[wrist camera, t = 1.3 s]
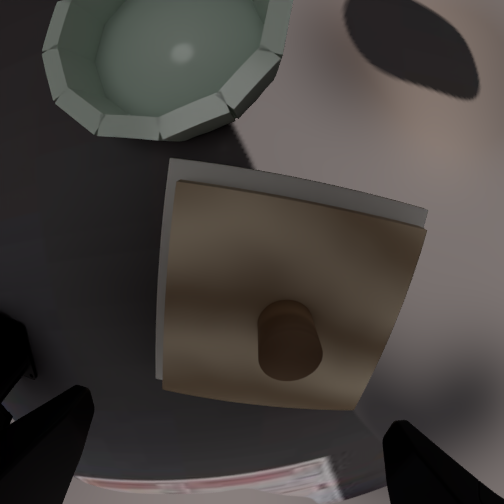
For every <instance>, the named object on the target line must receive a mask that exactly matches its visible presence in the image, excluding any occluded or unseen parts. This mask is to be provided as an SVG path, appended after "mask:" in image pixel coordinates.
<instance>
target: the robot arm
mask: <svg viewBox="0 0 504 504" xmlns="http://www.w3.org/2000/svg"><path fill="white" fill-rule="evenodd" d="M23 375H24V376H26V377H28V378H30V379H33V380H35V379H36V377H37V373H36V370H35V366H34V363H33V359H32V356H31V352H30V348H29V344H28V340H27V336H26V332H25V328H24V326H23V325H22V324H21V323H19V322H16V321H13V320H11V319H8V318H6V317H3V316H1V315H0V504H62V503H63V500H64V498H65V495H66V493H67V490H68V488H69V485H70V482H71V480H72V477H73V475H74V472H75V470H76V467H77V465H78V463H79V460H80V458H81V455H82V452H83V449H84V445H85V442H86V438H87V435H88V431H89V428H90V424H91V421H92V418H93V414H94V404H93V400H92V396H91V392H90V390H89V389H88V388H86V387H83V386H80V385H75V386H73V387H71V388H70V389H68V390H66V391H65V392H63V393H61V394H60V395H58V396H56V397H55V398H53V399H52V400H50V401H48V402H47V403H45V404H43V405H42V406H40V407H38V408H37V409H35V410H33V411H32V412H30V413H28V414H27V415H25V416H23V417H21V418H20V419H18V420H16V421H15V422H13V423H11V424H10V422H11V420H12V417H13V416H12V415H11V414H10V412H8V411H7V410H6V409H5V408H4V406H3V405H2V404H1V403H2V401H3V400H4V399H5V397H6V396H7V395H8V393H9V392H10V391H11V390H12V388H13V387H14V386H15V384H16V383H17V382H18V381H19V379H20V378H21V377H22V376H23ZM383 452H384V462H385V473H386V482H387V487H388V492H389V497H390V502H391V504H504V499H503V498H502V497H500V496H499V495H497V494H496V493H494V492H493V491H492V490H490V489H489V488H488V487H487V486H485V485H484V484H483V483H481V482H480V481H478V479H476V478H475V477H474V476H473V475H472V474H470V473H469V472H468V471H467V470H465V469H464V468H463V467H462V466H461V465H459V464H458V463H457V462H456V461H455V460H453V459H452V458H451V457H450V456H449V455H447V454H446V453H445V452H444V451H443V450H441V449H440V448H439V447H438V446H437V445H435V444H434V443H433V442H432V441H430V440H429V439H428V438H427V437H426V436H425V435H424V434H422V433H421V432H420V431H419V430H418V429H417V428H415V427H414V426H413V425H412V424H410V422H408V421H407V420H398V421H394V422H393V423H392V425H391V426H390V428H389V429H388V431H387V432H386V434H385V435H384V438H383Z"/></svg>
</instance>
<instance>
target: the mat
mask: <svg viewBox="0 0 504 504" xmlns="http://www.w3.org/2000/svg"><path fill="white" fill-rule="evenodd" d="M180 179H182V180H189V181H196V182H202V183H209V184H216V185H222V186H228V187H235V188H241V189H247V190H252V191H258V192H264V193H269V194H275V195H280V196H286V197H291V198H296V199H301V200H307V201H312V202H317V203H321V204H326V205H331V206H336V207H341V208H345V209H350V210H354V211H359V212H363V213H368V214H372V215H376V216H381V217H385V218H389V219H393V220H397V221H401V222H405V223H409V224H413V225H417V226H420V227H422V228H424V224H425V220H426V217H427V213H428V210H426V209H424V208H421V207H417V206H413V205H410V204H406V203H403V202H399V201H396V200H392V199H388V198H384V197H380V196H376V195H372V194H368V193H364V192H360V191H356V190H352V189H347V188H343V187H339V186H335V185H330V184H326V183H321V182H316V181H311V180H307V179H302V178H297V177H292V176H286V175H281V174H276V173H270V172H265V171H260V170H254V169H248V168H242V167H236V166H230V165H223V164H217V163H210V162H203V161H196V160H188V159H180V158H170V161H169V169H168V176H167V184H166V193H165V201H164V211H163V220H162V231H161V243H160V256H159V270H158V287H157V310H156V379H161V380H163V335H164V311H165V293H166V278H167V265H168V253H169V241H170V231H171V221H172V212H173V203H174V195H175V187H176V181H178V180H180Z"/></svg>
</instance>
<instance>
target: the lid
mask: <svg viewBox="0 0 504 504" xmlns="http://www.w3.org/2000/svg"><path fill="white" fill-rule="evenodd" d="M426 232H427V230H425V229H424V228H422V227H420V226H417V225H413V224H409V223H405V222H401V221H397V220H393V219H389V218H385V217H381V216H376V215H372V214H368V213H363V212H359V211H354V210H350V209H345V208H341V207H336V206H331V205H326V204H321V203H317V202H312V201H307V200H301V199H296V198H291V197H286V196H280V195H275V194H269V193H264V192H258V191H252V190H247V189H241V188H235V187H228V186H222V185H216V184H209V183H202V182H196V181H189V180H182V179H180V180H178V181H176V187H175V195H174V203H173V212H172V221H171V231H170V241H169V253H168V265H167V278H166V293H165V311H164V335H163V390H167V391H172V392H177V393H182V394H187V395H193V396H198V397H204V398H210V399H217V400H223V401H230V402H238V403H246V404H254V405H264V406H274V407H286V408H301V409H322V410H354V409H355V407H356V405H357V403H358V401H359V399H360V398H361V396H362V394H363V392H364V390H365V388H366V386H367V384H368V382H369V380H370V378H371V376H372V374H373V372H374V370H375V368H376V365H377V363H378V361H379V359H380V357H381V355H382V352H383V350H384V348H385V345H386V344H387V341H388V339H389V337H390V334H391V332H392V330H393V327H394V325H395V322H396V320H397V317H398V315H399V312H400V309H401V307H402V304H403V302H404V299H405V297H406V294H407V291H408V288H409V286H410V283H411V280H412V277H413V274H414V271H415V268H416V265H417V262H418V259H419V256H420V253H421V249H422V246H423V243H424V239H425V236H426Z"/></svg>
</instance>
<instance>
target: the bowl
mask: <svg viewBox="0 0 504 504" xmlns="http://www.w3.org/2000/svg"><path fill="white" fill-rule="evenodd" d="M292 4H293V0H62V1H59V2H57V4H56V7H55V10H54V13H53V16H52V19H51V22H50V25H49V28H48V32H47V35H46V38H45V42H44V46H43V49H42V51H43V52H44V53H43V54H42V57H43V62H44V66H45V70H46V75H47V79H48V83H49V87H50V90H51V94H52V98H53V101H56V103H55V104H56V105H58V106H59V107H60V108H61V109H63V110H64V111H65V112H66V113H68V114H69V115H70V116H71V117H73V118H74V119H75V120H76V121H77V122H79V123H80V124H81V125H82V126H84V127H85V128H86V129H87V130H89V131H90V132H91V133H92V134H94V135H97V136H108V137H123V138H136V139H148V140H158V141H180V142H181V141H186V140H188V139H191V138H193V137H196V136H198V135H201V134H204V133H207V132H211V131H213V130H215V129H217V128H219V127H222V126H224V125H226V124H229V123H231V122H234V121H235V118H238V119H239V117H241V115H242V114H243V113H244V112H245V111H246V110H247V109H248V108H249V107H250V106H251V105H252V104H253V103H254V102H255V101H256V100H257V99H258V97H259V96H260V95H261V94H262V92H263V91H264V90H265V89H266V88H267V87H268V85H269V84H270V83H271V82H272V81H273V80H274V78H275V76H276V73H277V71H278V68H279V65H280V61H281V58H282V56H283V50H284V45H285V40H286V35H287V30H288V24H289V19H290V14H291V9H292Z"/></svg>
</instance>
